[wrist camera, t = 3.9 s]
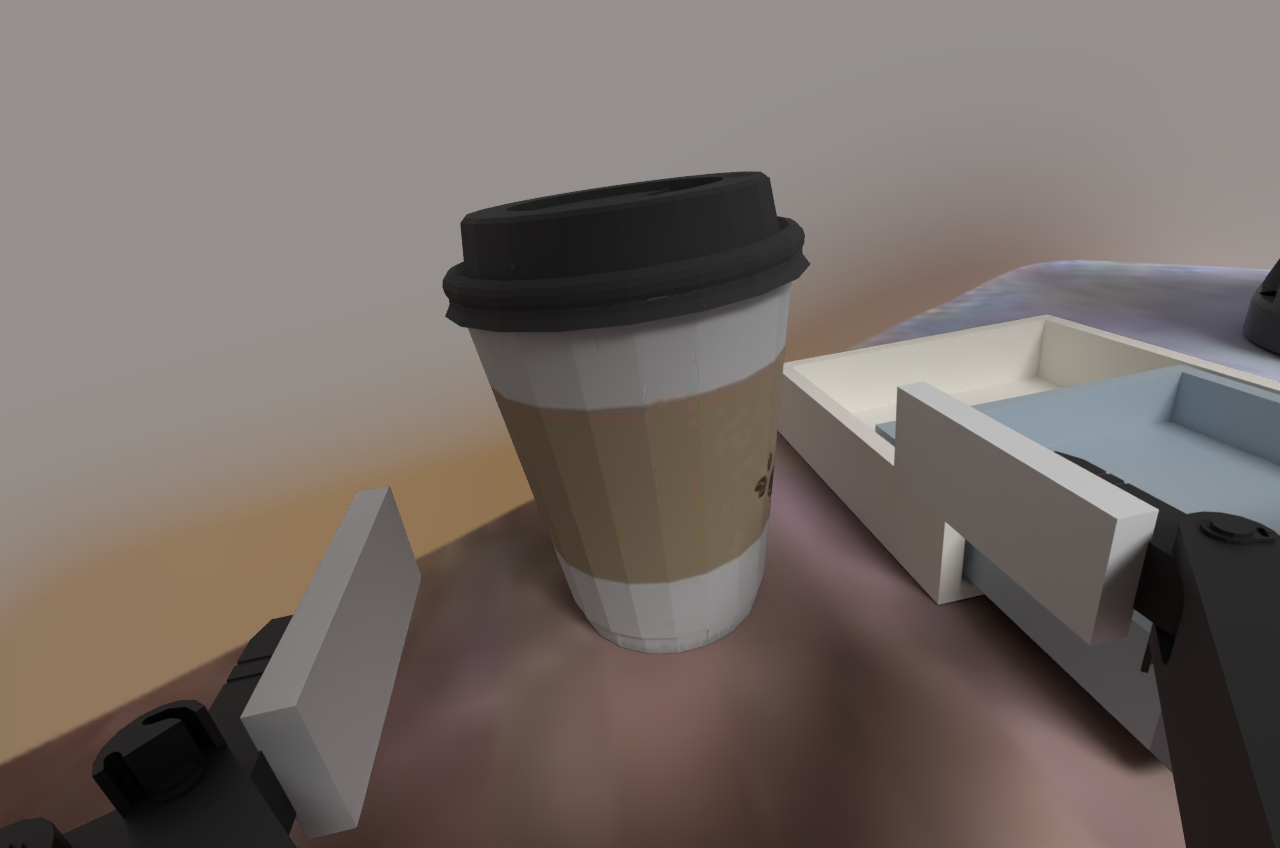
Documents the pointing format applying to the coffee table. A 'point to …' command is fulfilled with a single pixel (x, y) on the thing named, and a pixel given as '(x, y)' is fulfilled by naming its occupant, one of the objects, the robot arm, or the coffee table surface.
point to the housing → (965, 369)
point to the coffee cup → (641, 387)
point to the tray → (1159, 465)
